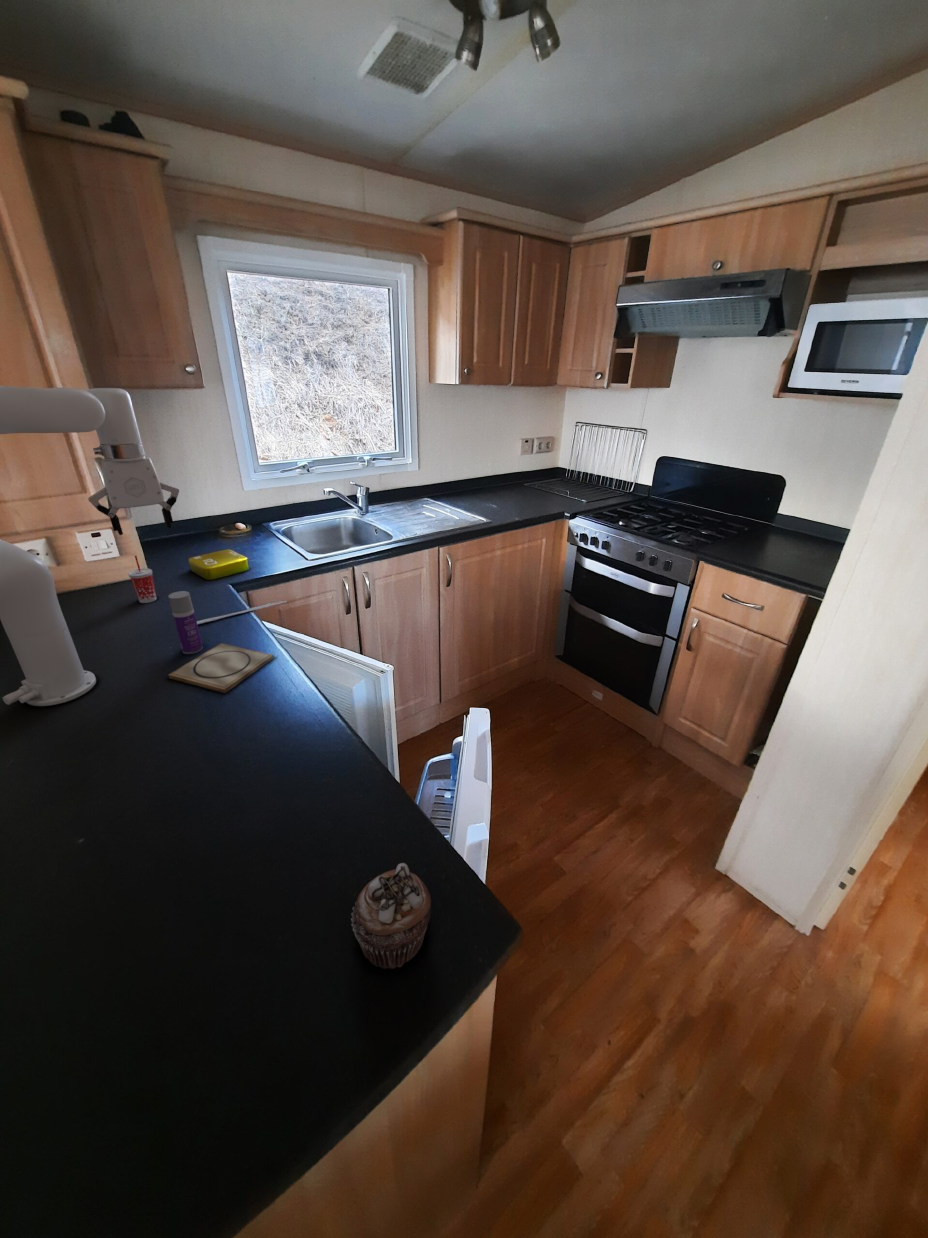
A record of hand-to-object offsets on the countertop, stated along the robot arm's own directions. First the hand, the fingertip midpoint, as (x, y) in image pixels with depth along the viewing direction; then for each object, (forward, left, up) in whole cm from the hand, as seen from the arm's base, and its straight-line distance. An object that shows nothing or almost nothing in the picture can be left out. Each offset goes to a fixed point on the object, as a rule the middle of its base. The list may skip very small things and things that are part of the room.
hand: (145, 529), depth 115 cm
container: (0, -6, -30) cm, 31 cm away
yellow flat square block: (+46, +29, -30) cm, 62 cm away
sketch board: (-4, -19, -30) cm, 36 cm away
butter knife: (+21, -2, -30) cm, 37 cm away
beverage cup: (+18, +30, -30) cm, 47 cm away
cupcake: (-46, -86, -30) cm, 102 cm away
